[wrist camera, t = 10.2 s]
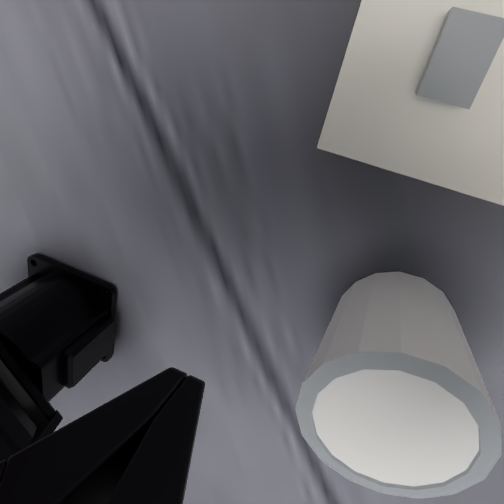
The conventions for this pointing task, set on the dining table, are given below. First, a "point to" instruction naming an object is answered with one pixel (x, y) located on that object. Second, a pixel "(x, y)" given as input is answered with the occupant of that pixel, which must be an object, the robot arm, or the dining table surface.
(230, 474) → the dining table surface
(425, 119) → the panel
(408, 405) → the grey cylinder
